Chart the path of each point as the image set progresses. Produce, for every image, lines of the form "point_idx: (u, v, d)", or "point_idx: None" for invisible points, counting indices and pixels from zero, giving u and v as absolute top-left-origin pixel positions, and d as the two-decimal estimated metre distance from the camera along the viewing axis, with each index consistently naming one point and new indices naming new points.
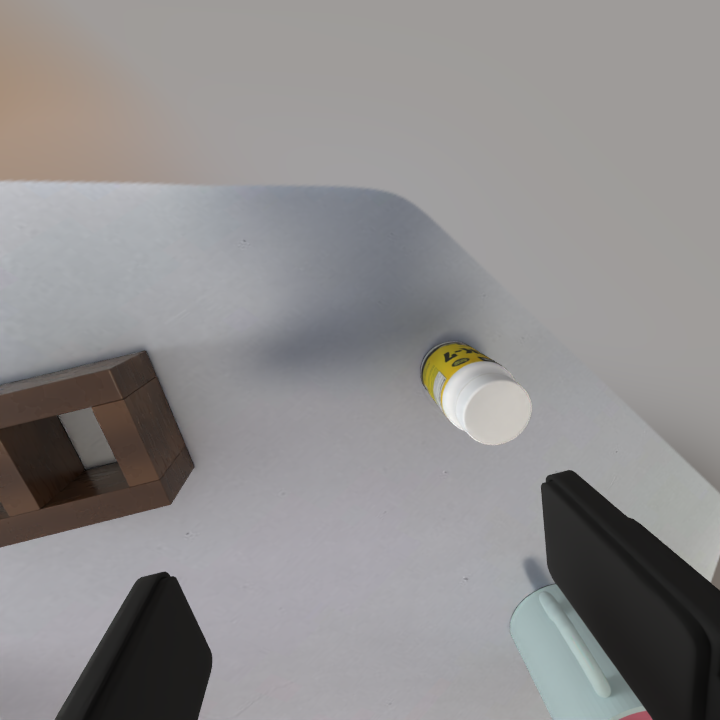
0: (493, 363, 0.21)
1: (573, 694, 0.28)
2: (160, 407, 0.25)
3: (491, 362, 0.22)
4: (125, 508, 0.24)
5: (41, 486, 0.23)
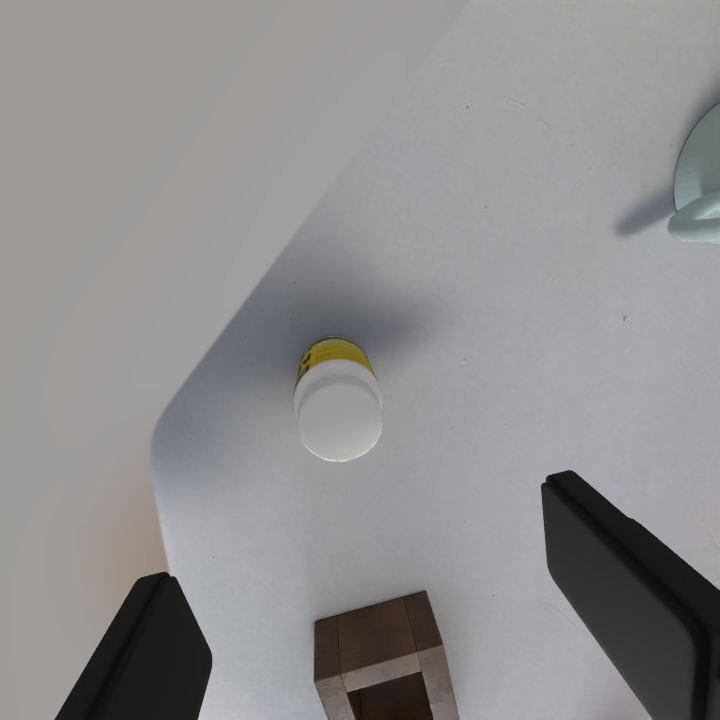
0: (294, 395, 0.18)
1: None
2: (362, 622, 0.29)
3: (293, 396, 0.18)
4: (441, 673, 0.27)
5: (417, 713, 0.29)
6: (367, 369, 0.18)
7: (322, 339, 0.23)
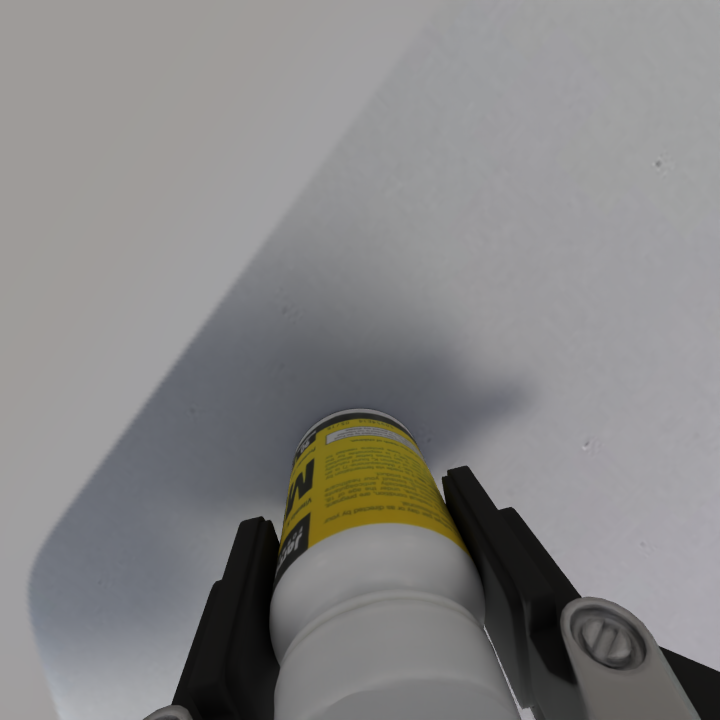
0: (271, 609, 0.07)
1: None
2: None
3: (271, 607, 0.07)
4: None
5: None
6: (453, 542, 0.07)
7: (336, 418, 0.12)
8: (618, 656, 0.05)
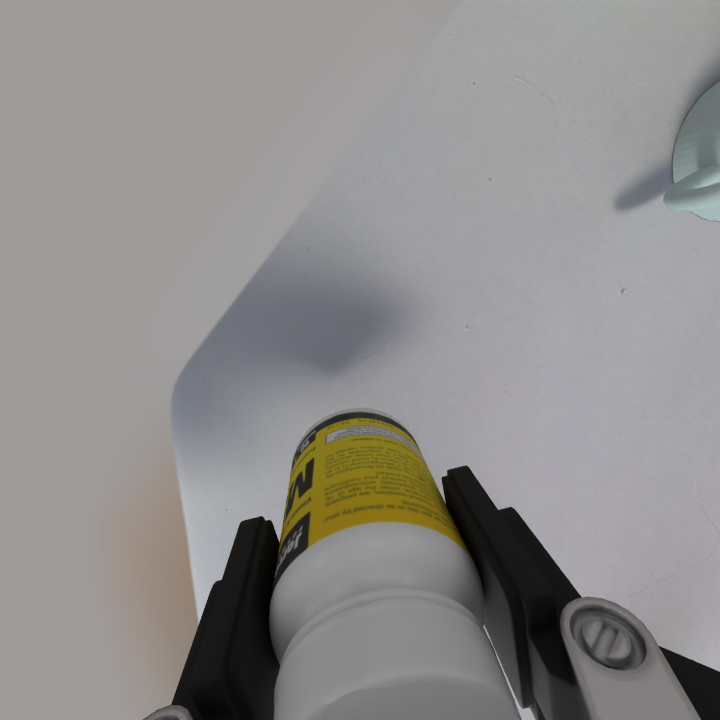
0: (271, 607, 0.07)
1: None
2: None
3: (271, 605, 0.07)
4: None
5: None
6: (452, 541, 0.07)
7: (336, 418, 0.12)
8: (617, 656, 0.05)
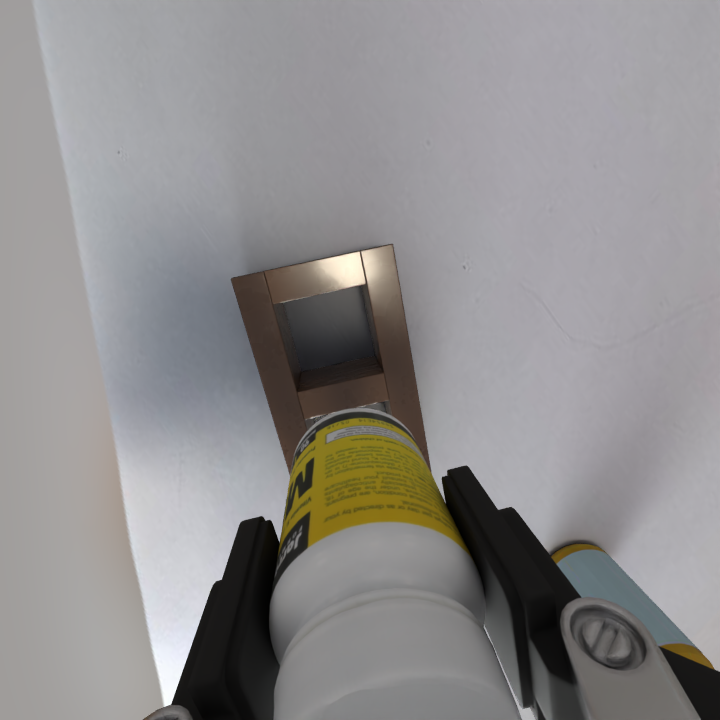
0: (271, 608, 0.07)
1: None
2: None
3: (270, 606, 0.07)
4: (392, 293, 0.22)
5: (365, 373, 0.24)
6: (452, 541, 0.07)
7: (336, 417, 0.12)
8: (619, 657, 0.05)
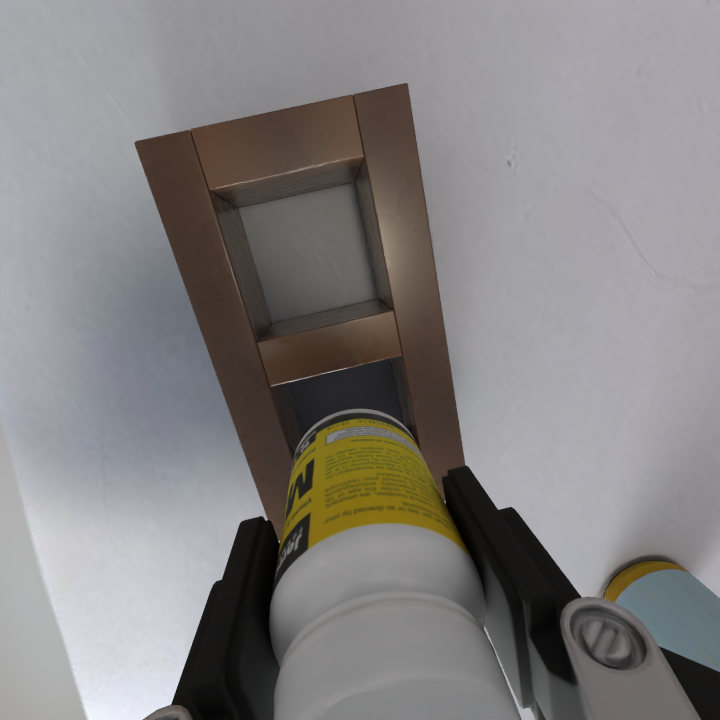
0: (271, 609, 0.07)
1: None
2: None
3: (271, 607, 0.07)
4: (406, 172, 0.13)
5: (363, 313, 0.15)
6: (453, 542, 0.07)
7: (336, 418, 0.12)
8: (618, 656, 0.05)
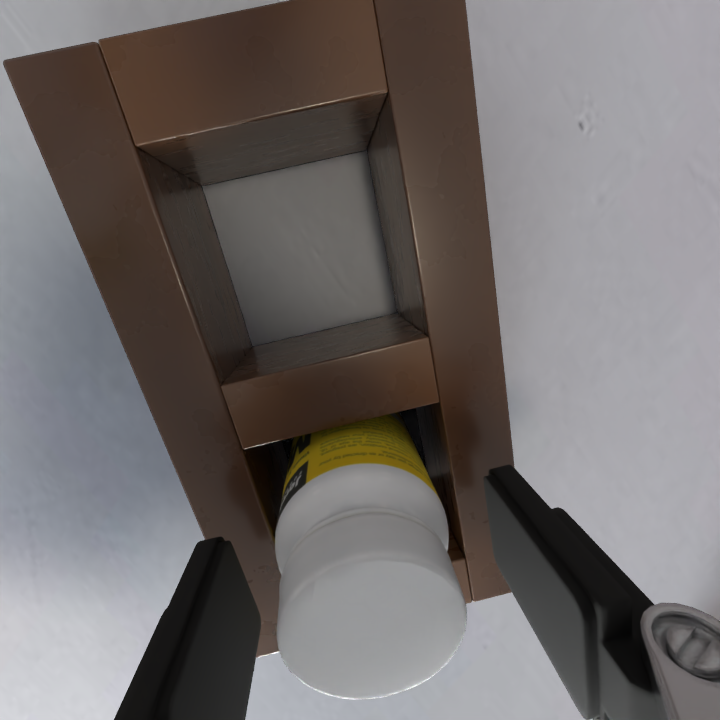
0: (277, 532, 0.09)
1: None
2: None
3: (276, 531, 0.09)
4: (454, 120, 0.08)
5: (382, 340, 0.10)
6: (421, 480, 0.09)
7: None
8: (707, 667, 0.05)
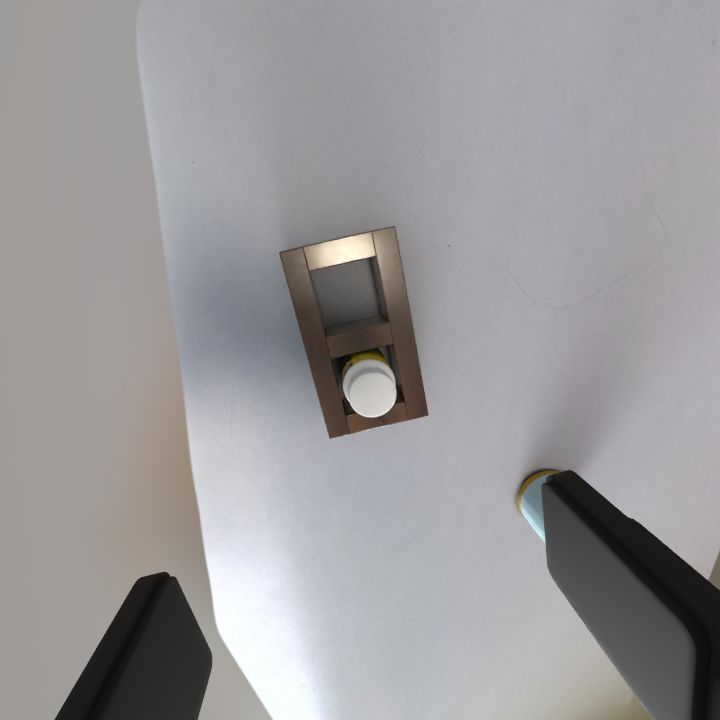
0: (344, 380, 0.31)
1: None
2: None
3: (343, 380, 0.31)
4: (394, 262, 0.30)
5: (375, 324, 0.32)
6: (387, 365, 0.31)
7: None
8: None
